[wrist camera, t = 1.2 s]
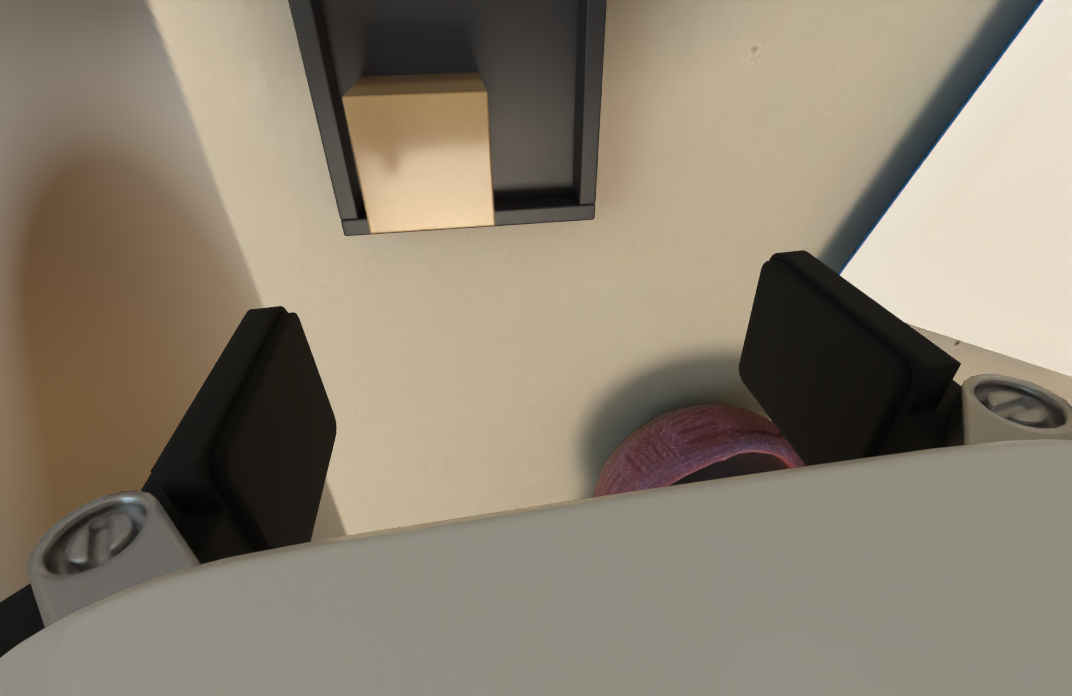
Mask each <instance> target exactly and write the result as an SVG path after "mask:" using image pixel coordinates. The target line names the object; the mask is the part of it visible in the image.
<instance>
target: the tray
mask: <svg viewBox="0 0 1072 696" xmlns="http://www.w3.org/2000/svg"><path fill="white" fill-rule="evenodd" d="M288 1H289V5H290V10H291V14H292V18H293V22H294V26H295V30H296V35H297V39H298V43H299V47H300V51H301V56H302V60H303V64H304V68H305V72H306V77H307V81H308V85H309V89H310V93H311V98H312V102H313V106H314V110H315V114H316V119H317V123H318V127H319V131H320V135H321V140H322V144H323V148H324V152H325V156H326V160H327V165H328V169H329V173H330V177H331V181H332V186H333V190H334V194H335V198H336V202H337V207H338V211H339V215H340V218H341V219H342V220H341V223H342V227H343V231H344V235H345V236H353V235H368V234H371V233H370V230H369V225H368V220H367V215H366V211H365V206H364V201H363V196H362V191H361V187H360V182H359V177H358V172H357V167H356V162H355V158H354V153H353V148H352V143H351V138H350V133H349V129H348V124H347V119H346V114H345V109H344V105H343V100H342V97H343V96H344V95H345V94H346V93H347V91H348V90H349V89H350V88H351V87H352V86H353V85H354V84H355V83H356V82H357V80H358V79H359V78H360V77H361V76H383V75H413V74H444V73H474V72H478V73H479V74H480V76H481V79H482V81H483V84H484V86H485V88H486V91H487V93H488V109H489V126H490V143H491V160H492V176H493V193H494V210H495V225H494V226H504V225H519V224H534V223H549V222H564V221H579V220H593V219H594V217H595V204H594V203H595V200H596V182H597V164H598V146H599V128H600V110H601V93H602V75H603V57H604V39H605V21H606V3H607V0H288ZM481 227H489V226H481ZM466 228H474V227H466ZM450 229H459V228H450ZM435 230H444V229H435ZM420 231H429V230H420ZM405 232H414V231H405ZM390 233H399V232H390ZM375 234H384V233H375Z"/></svg>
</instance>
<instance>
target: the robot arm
mask: <svg viewBox="0 0 1072 696" xmlns="http://www.w3.org/2000/svg"><path fill="white" fill-rule="evenodd" d="M960 365H961V363H960V362H958V361H957V360H956V359H954V358H953V357H951V356H950V355H949V354H947V353H946V352H944V351H943V350H942V349H940V348H939V347H938V346H936V345H935V344H933V343H932V342H931V341H929V340H928V339H927V338H925V337H924V336H922V335H921V334H920V333H918V332H917V331H916V330H914V329H913V328H911V327H910V326H909V325H907V324H906V323H905V322H903V321H902V320H900V319H899V318H898V317H896V316H895V315H894V314H892V313H891V312H889V311H888V310H887V309H885V308H884V307H883V306H881V305H880V304H878V303H877V302H876V301H874V300H873V299H872V298H870V297H869V296H867V295H866V294H865V293H863V292H862V291H861V290H859V289H858V288H856V287H855V286H854V285H852V284H851V283H850V282H848V281H847V280H845V279H844V278H843V277H841V276H840V275H839V274H837V273H836V272H834V271H833V270H832V269H830V268H829V267H828V266H826V265H825V264H823V263H822V262H821V261H819V260H818V259H816V258H815V257H814V256H812V255H811V254H810V253H808V252H806V251H804V250H803V251H793V252H783V253H775V254H774V255H772V257H771V258H770V260H769V261H767V262H765V263H764V264H763V266H762V269H761V273H760V277H759V281H758V286H757V290H756V294H755V298H754V303H753V307H752V311H751V316H750V320H749V324H748V329H747V333H746V337H745V341H744V346H743V350H742V354H741V359H740V363H739V374H740V377H741V380H742V382H743V383H744V384H745V386H746V387H747V388H748V390H749V391H750V392H751V394H752V395H753V396H754V398H755V399H756V400H757V402H758V403H759V404H760V406H761V407H762V408H763V409H764V411H765V412H766V413H767V415H768V416H769V417H770V419H771V420H772V421H773V423H774V424H775V425H776V427H777V428H778V429H779V431H780V432H781V433H782V435H783V436H784V437H785V438H786V440H787V441H788V442H789V444H790V445H791V446H792V448H793V449H794V450H795V452H796V453H797V454H798V456H799V457H800V458H801V460H802V461H803V462H804V464H805V465H806V466H805V467H798V468H791V469H784V470H777V471H770V472H763V473H756V474H749V475H742V476H735V477H728V478H721V479H715V480H708V481H701V482H694V483H688V484H681V485H674V486H667V487H661V488H654V489H647V490H640V491H634V492H627V493H620V494H614V495H607V496H600V497H594V498H587V499H580V500H574V501H567V502H560V503H554V504H547V505H541V506H534V507H528V508H521V509H515V510H508V511H502V512H495V513H489V514H483V515H476V516H470V517H463V518H457V519H450V520H444V521H437V522H431V523H424V524H418V525H411V526H405V527H399V528H392V529H386V530H380V531H373V532H367V533H361V534H355V535H349V536H343V537H336V538H330V539H324V540H318V541H313V542H310V541H311V537H312V533H313V529H314V524H315V520H316V516H317V512H318V508H319V504H320V500H321V495H322V491H323V487H324V483H325V479H326V475H327V470H328V466H329V462H330V458H331V454H332V449H333V445H334V441H335V437H336V420H335V416H334V413H333V410H332V408H331V405H330V402H329V399H328V397H327V394H326V391H325V388H324V386H323V383H322V380H321V377H320V375H319V372H318V369H317V366H316V364H315V361H314V358H313V355H312V353H311V350H310V347H309V344H308V341H307V339H306V336H305V333H304V330H303V328H302V325H301V322H300V320H299V317H298V316H297V314H296V313H294V312H293V313H288V312H287V311H286V309H285V308H284V307H282V306H278V307H269V308H260V309H251V310H249V311H248V312H247V313H246V315H245V316H244V318H243V319H242V321H241V323H240V324H239V326H238V328H237V329H236V331H235V333H234V334H233V336H232V338H231V339H230V341H229V343H228V344H227V346H226V348H225V349H224V351H223V353H222V354H221V356H220V358H219V359H218V361H217V362H216V364H215V366H214V368H213V369H212V371H211V372H210V374H209V376H208V377H207V379H206V381H205V382H204V384H203V386H202V387H201V389H200V391H199V392H198V394H197V396H196V397H195V399H194V401H193V402H192V404H191V405H190V407H189V409H188V410H187V412H186V414H185V416H184V417H183V419H182V420H181V422H180V424H179V425H178V427H177V429H176V430H175V432H174V434H173V435H172V437H171V439H170V440H169V442H168V443H167V445H166V447H165V448H164V450H163V452H162V453H161V455H160V457H159V458H158V460H157V462H156V463H155V465H154V467H153V468H152V470H151V475H150V476H149V478H148V480H147V481H146V483H145V485H144V486H143V488H142V490H141V491H138V490H133V491H121V492H117V493H113V494H109V495H106V496H102V497H100V498H98V499H95V500H93V501H91V502H89V503H87V504H85V505H82V506H81V507H79V508H78V509H76V510H74V511H73V512H71V513H70V514H68V515H66V516H65V517H64V518H62V519H61V520H60V521H59V522H57V524H55V525H54V526H53V527H52V528H51V529H49V530H48V531H47V532H46V533H45V534H44V536H43V537H42V538H41V539H40V541H39V542H38V543H37V544H36V545H35V547H34V549H33V551H32V553H31V555H30V558H29V560H28V563H27V564H28V566H27V568H28V569H27V570H28V577H29V580H30V584H29V585H27V586H25V587H24V588H22V589H21V590H19V591H17V592H16V593H14V594H13V595H11V596H10V597H8V598H6V599H5V600H3V601H2V602H0V696H1072V406H1071V405H1070V404H1069V403H1068V402H1066V401H1065V400H1064V399H1063V398H1061V397H1059V396H1058V395H1056V394H1054V393H1053V392H1051V391H1049V390H1047V389H1045V388H1043V387H1041V386H1038V385H1036V384H1034V383H1031V382H1028V381H1025V380H1021V379H1018V378H1015V377H1009V376H1003V375H998V374H981V375H976V376H971V377H970V378H968V379H967V380H965V381H964V383H963V384H962V386H960V385H959V384H957V383H956V382H955V381H954V380H952V379H953V377H954V376H955V374H956V372H957V370H958V368H959V366H960Z"/></svg>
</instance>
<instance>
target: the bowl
mask: <svg viewBox="0 0 1072 696" xmlns="http://www.w3.org/2000/svg"><path fill="white" fill-rule="evenodd" d="M805 466H806V465H805V464H804V462H803V461H802V460H801V458H800V457H799V456H798V454H797V453H796V452H795V450H794V449H793V448H792V446H791V445H790V444H789V442H788V441H787V440H786V438H785V437H784V436H783V435H782V433H781V432H780V431H779V429H778V428H777V427H776V425H775V424H774V423H773V422H772V421H770V420H769V419H767V418H765V417H763V416H761V415H758V414H756V413H754V412H752V411H749V410H746V409H742V408H738V407H734V406H730V405H724V404H704V405H694V406H687V407H682V408H678V409H674V410H671V411H668V412H665V413H663V414H660V415H658V416H656V417H654V418H652V419H651V420H649V421H647V422H646V423H644V424H643V425H642V426H640V427H639V428H637V429H636V430H635V431H634V432H633V433H632V434H630V435H629V436H628V437H627V438H626V439H625V440H624V441H623V442H622V443H621V444H620V445H619V446H618V447H617V448H616V449H615V450H614V451H613V453H612V454H611V455H610V457H609V458H608V459H607V460H606V462H605V464H604V466H603V468H602V470H601V472H600V474H599V477H598V480H597V484H596V487H595V491H594V497H600V496H607V495H614V494H620V493H627V492H634V491H640V490H647V489H654V488H661V487H667V486H674V485H681V484H688V483H694V482H701V481H708V480H715V479H721V478H728V477H735V476H742V475H749V474H756V473H763V472H770V471H777V470H784V469H791V468H798V467H805ZM594 497H593V498H594Z"/></svg>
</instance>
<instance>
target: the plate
mask: <svg viewBox="0 0 1072 696" xmlns="http://www.w3.org/2000/svg"><path fill="white" fill-rule="evenodd" d="M838 274H839V275H840V276H841V277H843V278H844V279H845V280H847V281H848V282H850V283H851V284H852V285H854V286H855V287H856V288H858V289H859V290H861V291H862V292H863V293H865V294H866V295H867V296H869V297H870V298H872V299H873V300H874V301H876V302H877V303H878V304H880V305H881V306H883V307H884V308H885V309H887V310H888V311H889V312H891V313H892V314H894V315H895V316H896V317H898V318H899V319H900V320H902V321H903V322H905V323H908V324H911V325H914V326H917V327H920V328H923V329H926V330H929V331H932V332H935V333H939V334H942V335H945V336H948V337H951V338H954V339H957V340H960V341H963V342H966V343H969V344H972V345H975V346H978V347H982V348H985V349H988V350H991V351H994V352H997V353H1000V354H1003V355H1006V356H1009V357H1012V358H1015V359H1018V360H1022V361H1025V362H1028V363H1031V364H1034V365H1037V366H1040V367H1043V368H1046V369H1049V370H1052V371H1055V372H1058V373H1061V374H1065V375H1068V376H1071V377H1072V0H1040V1H1039V2H1038V4H1037V5H1036V7H1035V8H1034V9H1033V11H1032V12H1031V13H1030V15H1029V16H1028V17H1027V19H1026V20H1025V21H1024V23H1023V24H1022V25H1021V27H1020V28H1019V29H1018V31H1017V32H1016V34H1015V35H1014V36H1013V38H1012V39H1011V40H1010V42H1009V43H1008V44H1007V46H1006V47H1005V48H1004V50H1003V51H1002V52H1001V54H1000V55H999V57H998V58H997V59H996V61H995V62H994V63H993V65H992V66H991V67H990V69H989V70H988V71H987V73H986V74H985V75H984V77H983V78H982V80H981V81H980V82H979V84H978V85H977V86H976V88H975V89H974V90H973V92H972V93H971V94H970V96H969V97H968V98H967V100H966V101H965V103H964V104H963V105H962V107H961V108H960V109H959V111H958V112H957V113H956V115H955V116H954V117H953V119H952V120H951V121H950V123H949V124H948V126H947V127H946V128H945V130H944V131H943V132H942V134H941V135H940V136H939V138H938V139H937V140H936V142H935V143H934V144H933V146H932V147H931V149H930V150H929V151H928V153H927V154H926V155H925V157H924V158H923V159H922V161H921V162H920V163H919V165H918V166H917V167H916V169H915V170H914V172H913V173H912V174H911V176H910V177H909V178H908V180H907V181H906V182H905V184H904V185H903V186H902V188H901V189H900V190H899V192H898V193H897V195H896V196H895V197H894V199H893V200H892V201H891V203H890V204H889V205H888V207H887V208H886V209H885V211H884V212H883V213H882V215H881V216H880V218H879V219H878V220H877V222H876V223H875V224H874V226H873V227H872V228H871V230H870V231H869V232H868V234H867V235H866V236H865V238H864V239H863V241H862V242H861V243H860V245H859V246H858V247H857V249H856V250H855V251H854V253H853V254H852V255H851V257H850V258H849V259H848V261H847V262H846V264H845V265H844V266H843V268H842V269H841V270H840V272H839V273H838Z"/></svg>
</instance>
